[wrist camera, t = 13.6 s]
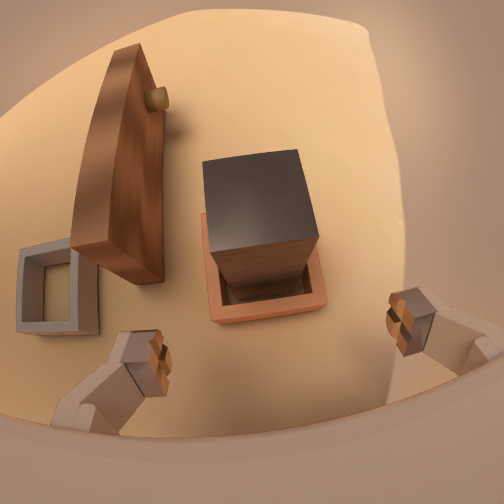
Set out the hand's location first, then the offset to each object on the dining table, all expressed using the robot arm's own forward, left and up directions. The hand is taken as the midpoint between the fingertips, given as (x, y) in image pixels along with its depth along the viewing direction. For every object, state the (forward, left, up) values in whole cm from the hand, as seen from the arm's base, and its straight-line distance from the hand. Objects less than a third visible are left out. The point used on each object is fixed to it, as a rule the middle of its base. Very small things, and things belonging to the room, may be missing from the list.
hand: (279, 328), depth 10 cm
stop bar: (+2, +4, -11) cm, 12 cm away
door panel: (0, +16, -11) cm, 20 cm away
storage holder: (-12, +13, -11) cm, 21 cm away
